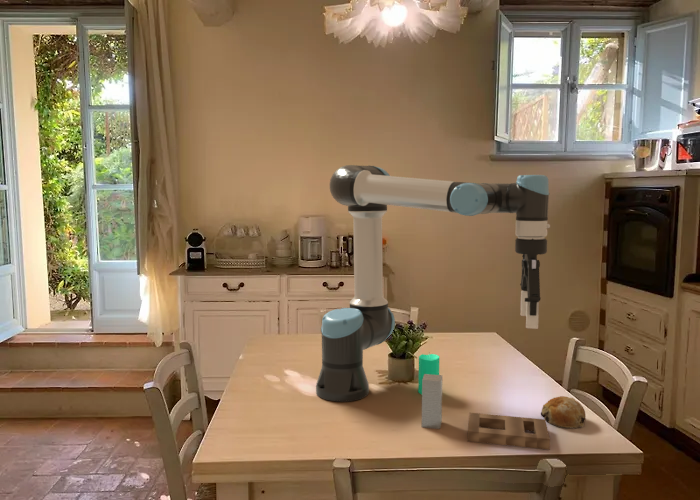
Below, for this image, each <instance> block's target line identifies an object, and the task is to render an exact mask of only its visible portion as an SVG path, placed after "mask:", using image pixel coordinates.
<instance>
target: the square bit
mask: <svg viewBox="0 0 700 500" xmlns="http://www.w3.org/2000/svg"><path fill="white" fill-rule="evenodd" d="M442 412H443V374H441V375H440V374H439V375H431V374H424V376H423V379H422V395H421V428H427V429H437V430H441V426H442V419H443V417H442V416H443V415H442Z"/></svg>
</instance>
